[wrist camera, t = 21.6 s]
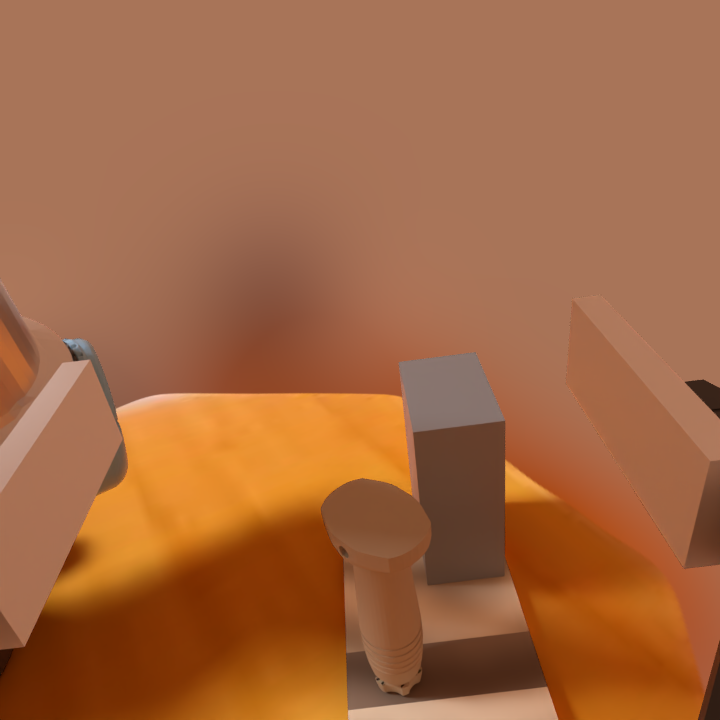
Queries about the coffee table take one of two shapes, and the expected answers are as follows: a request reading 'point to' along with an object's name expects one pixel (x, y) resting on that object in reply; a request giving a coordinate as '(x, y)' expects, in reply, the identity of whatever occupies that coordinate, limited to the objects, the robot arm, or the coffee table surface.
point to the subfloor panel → (455, 656)
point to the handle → (383, 573)
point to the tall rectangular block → (456, 465)
